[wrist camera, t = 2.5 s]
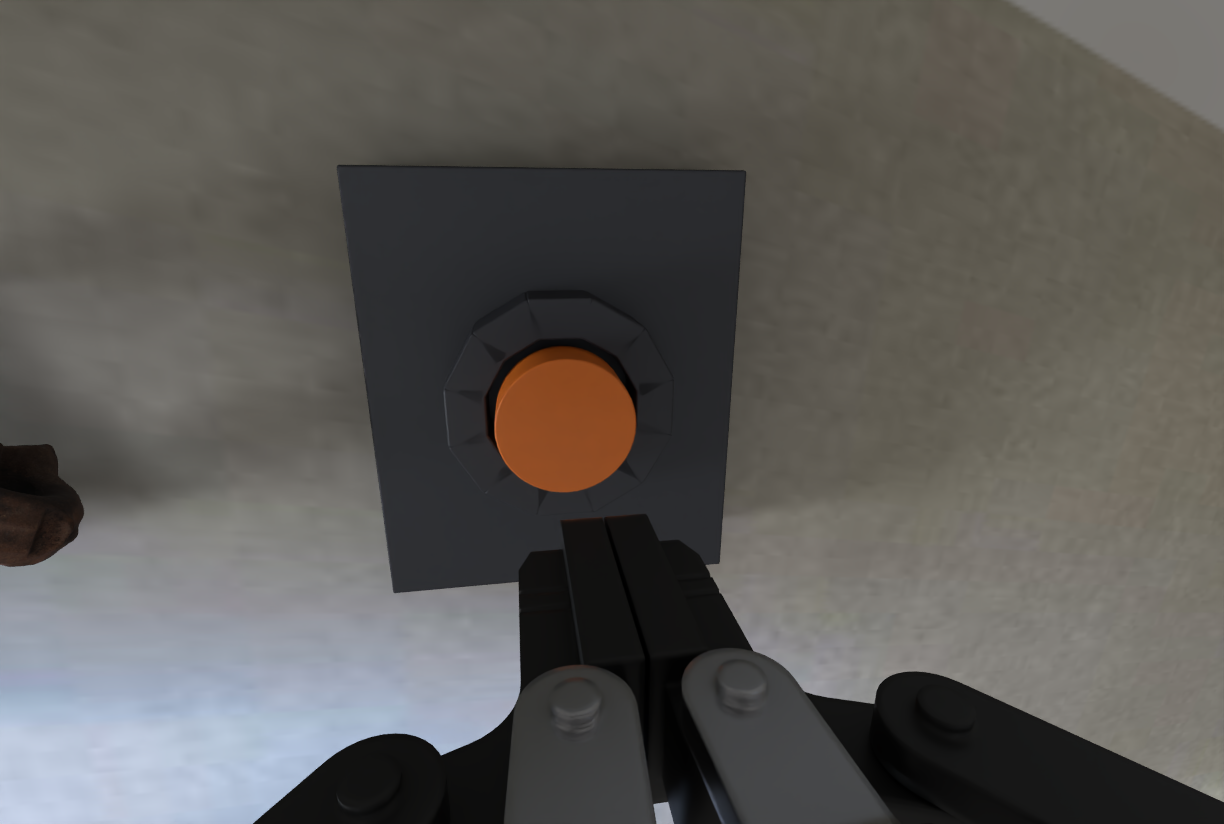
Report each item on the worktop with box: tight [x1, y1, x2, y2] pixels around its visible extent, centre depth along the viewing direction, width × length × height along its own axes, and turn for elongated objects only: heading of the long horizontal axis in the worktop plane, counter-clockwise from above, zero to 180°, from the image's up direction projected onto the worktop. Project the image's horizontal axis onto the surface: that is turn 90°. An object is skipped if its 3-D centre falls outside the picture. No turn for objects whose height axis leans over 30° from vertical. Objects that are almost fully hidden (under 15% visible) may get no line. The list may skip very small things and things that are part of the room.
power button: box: [495, 346, 636, 492], centre depth 18 cm, size 4×4×2 cm
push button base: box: [337, 165, 746, 593], centre depth 20 cm, size 14×12×5 cm
